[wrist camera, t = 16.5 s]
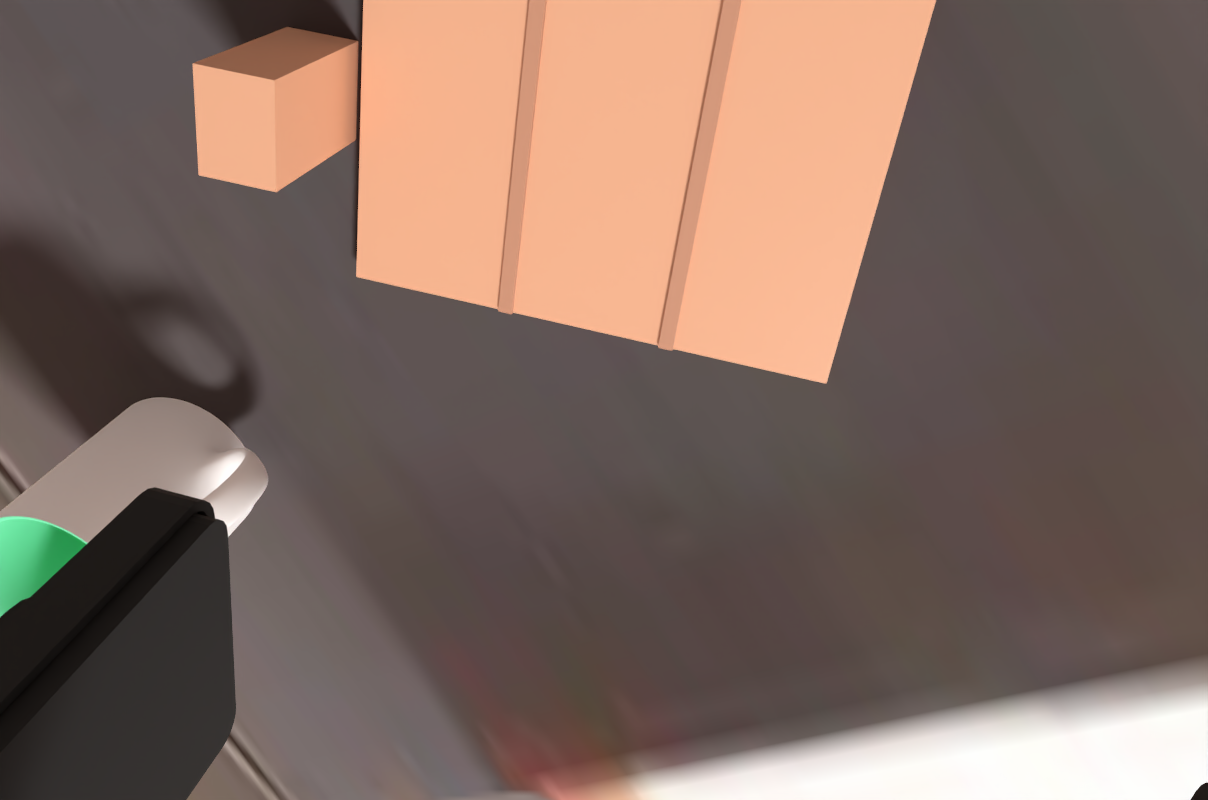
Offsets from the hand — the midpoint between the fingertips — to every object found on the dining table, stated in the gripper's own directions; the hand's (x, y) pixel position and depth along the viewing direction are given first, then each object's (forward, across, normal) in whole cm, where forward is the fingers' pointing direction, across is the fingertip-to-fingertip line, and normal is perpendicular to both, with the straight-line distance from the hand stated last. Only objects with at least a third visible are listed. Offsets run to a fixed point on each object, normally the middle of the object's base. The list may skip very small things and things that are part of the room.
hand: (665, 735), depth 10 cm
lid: (+33, +9, +5) cm, 35 cm away
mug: (+34, +25, +25) cm, 49 cm away
